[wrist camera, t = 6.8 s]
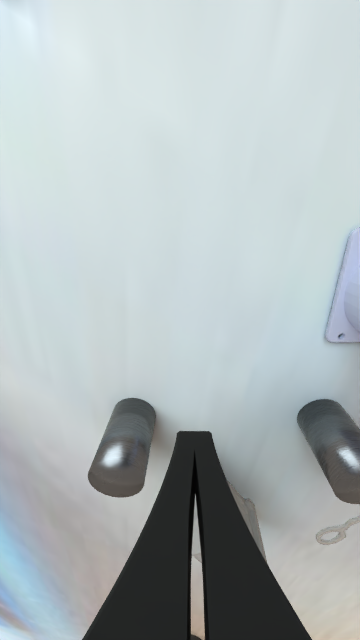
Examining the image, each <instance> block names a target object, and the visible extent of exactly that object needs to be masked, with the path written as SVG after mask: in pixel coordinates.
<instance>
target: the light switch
mask: <svg viewBox="0 0 360 640" xmlns="http://www.w3.org/2000/svg"><path fill="white" fill-rule="evenodd" d="M227 482H228V481H227ZM228 485H229V487H230V490H231V492H232V494H233V497H234V499H235V501H236V503H237V506H238V508H239V510H240V512H241V514H242V516H243V518H244V520H245V522H246V524H247V527H248V529H249V531H250V533H251V534H252V536H253V538H254V540H255V542H256V544H257V546H258V548H259V550H260V552H261V554H262V555H263V557H264V559H265V561H266V563H267V560H266V556H265V551H264V547H263V542H262V538H261V533H260V529H259V524H258V520H257V515H256V511H255V506H254V504H253V503H252V501H251V500H250V499H246V500H244V498H243V497H242V496H241V495H240V494H239V493H238V492H237V491H236V490H235V488H234V487H233V486H232V485H231V484H230V483H229V482H228ZM192 556H194V557H195V558H196V559H197V560H198V561H200V562H201V563H202V559H201V548H200V538H199V527H198V516H197V505H196V495H195V507H194V524H193V541H192Z"/></svg>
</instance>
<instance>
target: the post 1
mask: <svg viewBox="0 0 360 640" xmlns="http://www.w3.org/2000/svg"><path fill="white" fill-rule="evenodd" d="M155 418H156V414H155V410H154V409H153V407H152V406H151V405H150V404H149V403H147V402H146V401H144V400H141V399H137V398H128V399H124V400H121V401H120V402H118V403H117V404H116V406H115V408H114V410H113V413H112V415H111V418H110V420H109V423H108V425H107V428H106V430H105V433H104V435H103V438H102V440H101V443H100V445H99V448H98V450H97V453H96V455H95V458H94V460H93V462H92V465H91V467H90V470H89V472H88V480H89V482H90V484H91V485H92V486H93V487H94V488H95V489H96V490H97V491H99V492H101V493H103V494H105V495H108V496H112V497H129V496H133V495H135V494H137V493H139V492H140V491H141V490H142V488H143V486H144V481H145V475H146V470H147V464H148V458H149V453H150V447H151V441H152V436H153V430H154V424H155Z"/></svg>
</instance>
